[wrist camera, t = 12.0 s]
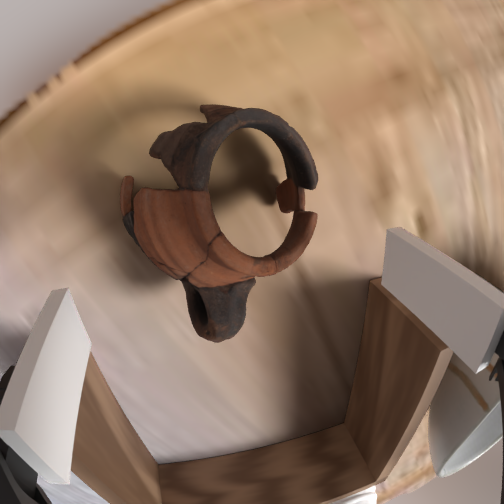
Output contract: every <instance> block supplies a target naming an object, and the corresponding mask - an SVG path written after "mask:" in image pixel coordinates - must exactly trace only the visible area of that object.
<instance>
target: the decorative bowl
mask: <svg viewBox="0 0 504 504" xmlns="http://www.w3.org/2000/svg"><path fill="white" fill-rule="evenodd" d="M498 358H499V356H498V355H497V354H496V353H494V355H493V357H492V359H491V361H490V363H489V365H488V366H487V367H486V368H484V369H483V370H481V371H480V372H478V373H476V374H475V373H474V372H473V371H472V370H471V369H470V368H469V367H468V366H467V365H466V364H465V363H464V362H463V361H462V360H461V359H460V358H459V357H458V356H457V355H456V354H455V353H454V352H453V354H452V357H451V359H450V362H449V364H448V367H447V369H446V371H445V373H444V376H443V378H442V380H441V382H440V385H439V387H438V389H437V391H436V393H435V395H434V397H433V399H432V401H431V404H430V411H429V420H428V439H429V448H430V454H431V459H432V463H433V467H434V470H435V473H436V475H437V476H438V477H446V476H449V475H451V474H453V473H455V472H457V471H459V470H461V469H463V468H464V467H466V466H467V465H469V464H470V463H472V462H473V461H475V460H476V459H477V458H479V457H480V456H481V455H483V454H484V453H485V452H486V451H488V450H489V449H490V448H491V447H492V446H494V445H495V444H496V443H497V442H498V441H499V440H500V439H502V438H503V430H502V412H501V400H500V390H499V382H498V381H495V379H496V377H497V375H498V374H497V373H495V375H494V377H493V378H492V380H491V381H489V376H490V374H491V372H492V370H493V368H494V366H495V364H496V362H497V360H498Z"/></svg>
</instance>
